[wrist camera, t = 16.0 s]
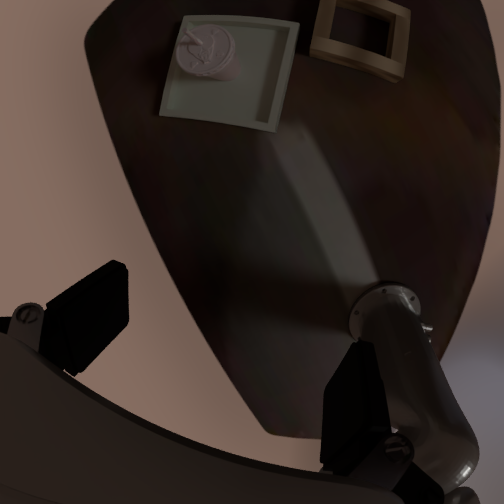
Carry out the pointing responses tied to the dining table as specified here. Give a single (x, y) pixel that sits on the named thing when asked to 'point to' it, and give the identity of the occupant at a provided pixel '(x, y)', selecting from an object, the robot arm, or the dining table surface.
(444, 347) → the dining table surface
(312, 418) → the dining table surface
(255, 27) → the tray
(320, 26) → the holder
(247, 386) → the dining table surface
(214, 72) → the smoothie
